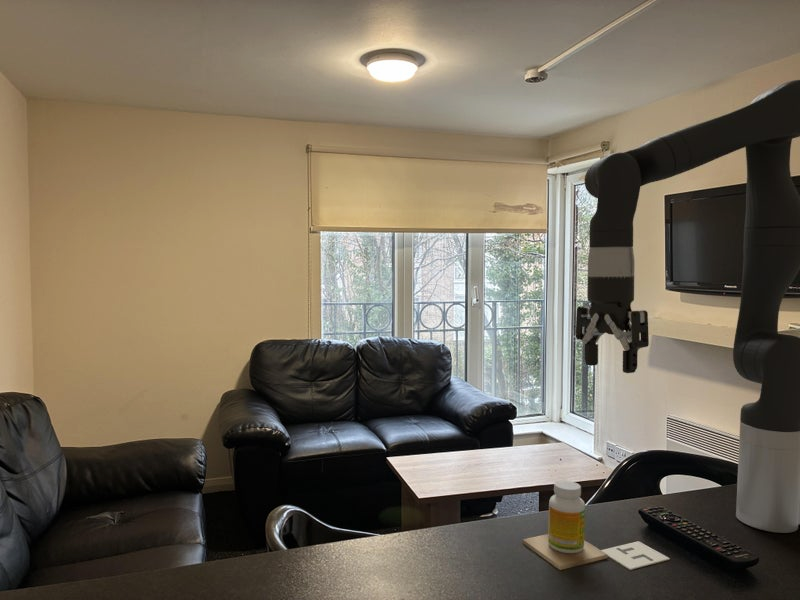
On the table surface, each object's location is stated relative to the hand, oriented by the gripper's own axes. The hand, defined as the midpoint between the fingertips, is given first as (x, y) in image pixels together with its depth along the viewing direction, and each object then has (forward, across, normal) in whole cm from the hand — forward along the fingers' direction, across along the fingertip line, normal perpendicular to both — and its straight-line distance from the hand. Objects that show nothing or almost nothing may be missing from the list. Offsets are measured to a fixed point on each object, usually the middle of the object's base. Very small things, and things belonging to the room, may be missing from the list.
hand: (609, 368), depth 99 cm
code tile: (+27, -11, +6) cm, 29 cm away
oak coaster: (+26, -5, +14) cm, 31 cm away
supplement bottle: (+26, -5, +14) cm, 30 cm away
